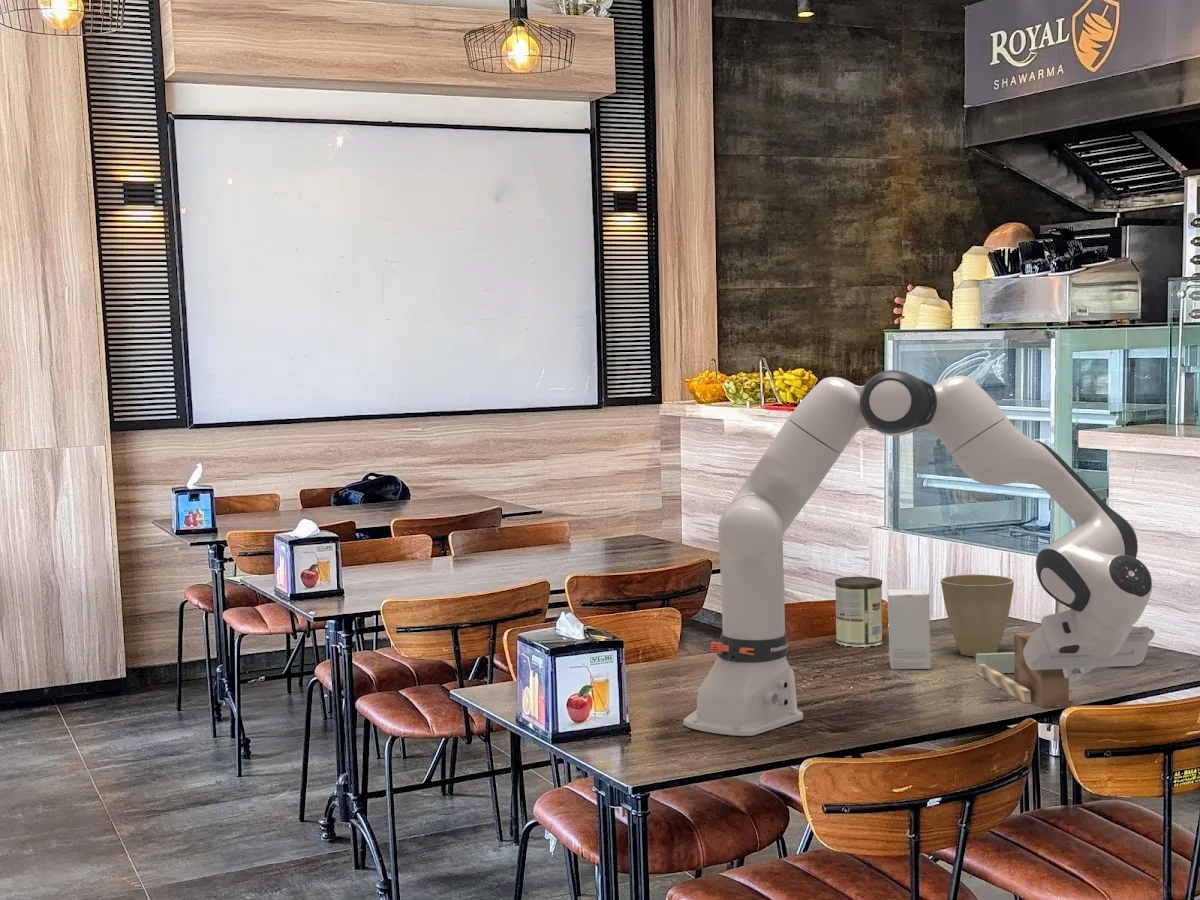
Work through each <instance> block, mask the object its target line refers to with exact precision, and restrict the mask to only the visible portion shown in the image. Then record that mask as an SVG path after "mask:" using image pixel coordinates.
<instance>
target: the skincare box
mask: <svg viewBox="0 0 1200 900" xmlns="http://www.w3.org/2000/svg"><path fill="white" fill-rule="evenodd" d="M930 595H931V594H930V593H929V592H928V590H927V588H912V589H911V588H907V589H906V588H905V589H904V588H900V589H897V588H896V589H894V588H890V589H889V588H888V589H887V614H888V615H887V616H888V654H889V655H888V658H889V660H888V661H889V666H890V669H891V670H931V669H932V660H931V659H932V658H931V657H932V656H931V623H930V622H931V621H930V618H931V617H930V612H931V611H930Z"/></svg>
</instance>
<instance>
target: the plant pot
mask: <svg viewBox="0 0 1200 900" xmlns="http://www.w3.org/2000/svg"><path fill="white" fill-rule="evenodd" d="M1014 583H1015V580H1014V579H1013V578H1010V577H1008V576H1003V575H993V574H955V575H949V576H944V577H942V578H941V579H940V585H941V590H942V597H943V602H944V606H945V610H946V615H947V618H948V622H949V626H950V628H951V632H952V635H953V638H954V641H955V643H956V646H957V648H958V651H959V653H960V655H962V654H963V655H962V656H964V655H966V656H965V657H968V656H973V657H972V658H976V654H981V653H998V652H999V648H1000V646H1001V643H1002V640H1003V637H1004V634H1005V630H1006V627H1007V622H1008V619H1009V615H1010V611H1011V610H1010V609H1011V606H1012V598H1013V593H1014Z"/></svg>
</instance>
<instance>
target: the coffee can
mask: <svg viewBox="0 0 1200 900" xmlns="http://www.w3.org/2000/svg"><path fill="white" fill-rule="evenodd" d="M834 584H835V585H834V586H835V633H836V635H835V636H836V637H835V638H836V639H835V643H836V642H837V643H838V644H837V643H836V644H837V645H839V644H840V645H839V646H842V645H844V646H843V647H847V646H852V647H851V648H858V647H864V648H871V647H870V646H875V647H878V645H879V646H881V645H882V644H883V643H884V642H883V607H882V605H883V604H882V603H883V602H882V600H883V597H882V596H883V595H882V594H883V593H882V591H883V590H882V585H883V580H882V579H880V578H876V577H870V576H844V577H838V578H835V580H834Z"/></svg>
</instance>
